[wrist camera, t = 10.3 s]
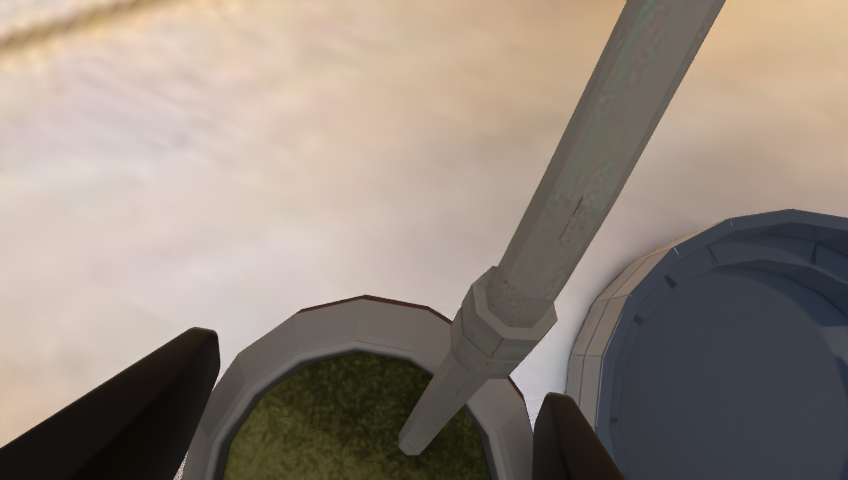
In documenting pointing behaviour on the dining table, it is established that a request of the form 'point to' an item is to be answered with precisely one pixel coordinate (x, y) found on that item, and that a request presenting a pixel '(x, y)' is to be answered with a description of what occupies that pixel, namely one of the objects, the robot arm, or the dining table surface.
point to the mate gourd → (439, 336)
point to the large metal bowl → (724, 354)
